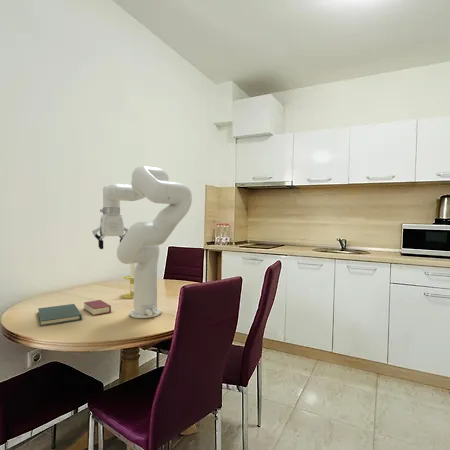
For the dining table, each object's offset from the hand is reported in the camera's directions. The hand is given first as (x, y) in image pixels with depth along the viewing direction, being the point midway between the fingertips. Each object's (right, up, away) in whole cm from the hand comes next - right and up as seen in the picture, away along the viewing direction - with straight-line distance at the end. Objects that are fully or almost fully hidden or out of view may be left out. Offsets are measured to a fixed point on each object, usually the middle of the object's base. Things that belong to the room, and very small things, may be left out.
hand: (111, 248), depth 151 cm
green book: (-15, -27, -19) cm, 36 cm away
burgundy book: (-3, -27, -11) cm, 29 cm away
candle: (+5, -26, +17) cm, 32 cm away
